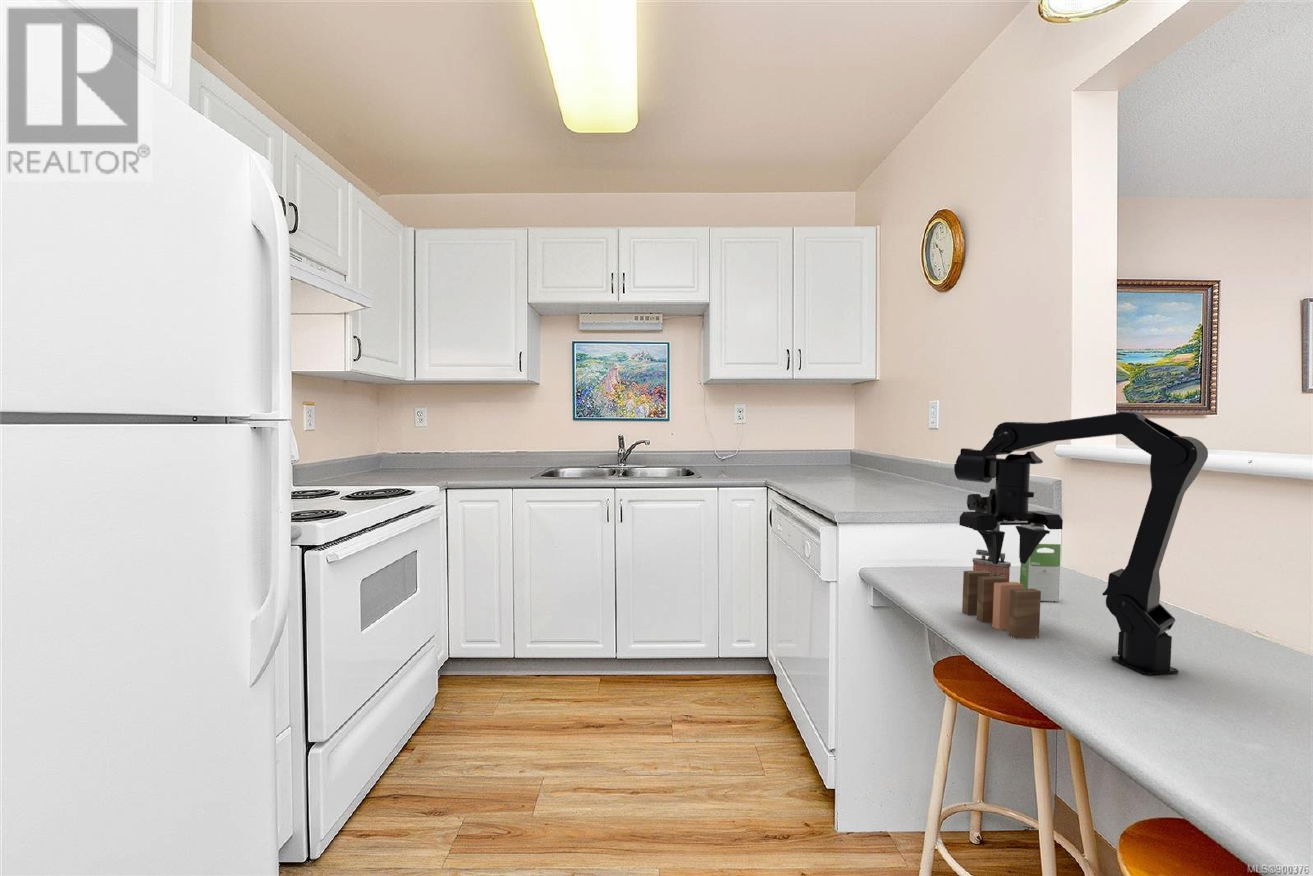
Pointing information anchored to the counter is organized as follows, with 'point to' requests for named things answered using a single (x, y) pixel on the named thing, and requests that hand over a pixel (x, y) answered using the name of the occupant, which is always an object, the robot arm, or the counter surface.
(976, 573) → the domino
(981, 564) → the lighter
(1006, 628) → the domino
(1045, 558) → the ink box
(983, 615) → the domino
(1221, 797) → the counter surface
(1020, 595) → the domino
